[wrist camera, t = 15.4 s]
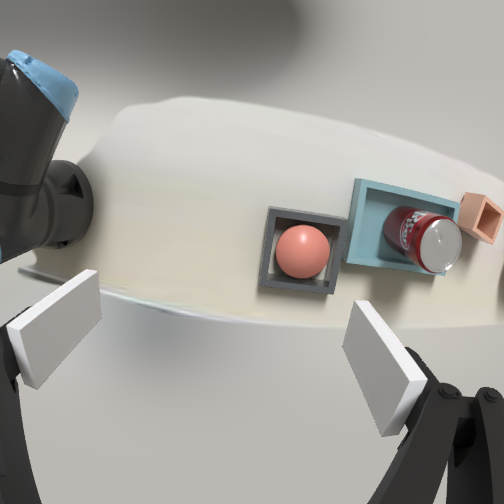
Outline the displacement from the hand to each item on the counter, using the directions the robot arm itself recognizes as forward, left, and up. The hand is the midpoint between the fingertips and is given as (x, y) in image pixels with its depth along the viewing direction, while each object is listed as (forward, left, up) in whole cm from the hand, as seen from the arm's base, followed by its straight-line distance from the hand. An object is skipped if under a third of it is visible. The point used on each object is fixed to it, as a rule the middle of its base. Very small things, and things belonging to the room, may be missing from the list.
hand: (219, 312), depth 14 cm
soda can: (+22, +8, -30) cm, 38 cm away
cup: (+34, +16, -30) cm, 49 cm away
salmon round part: (+9, -1, -30) cm, 31 cm away
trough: (+22, +8, -30) cm, 38 cm away
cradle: (+9, -1, -30) cm, 32 cm away
